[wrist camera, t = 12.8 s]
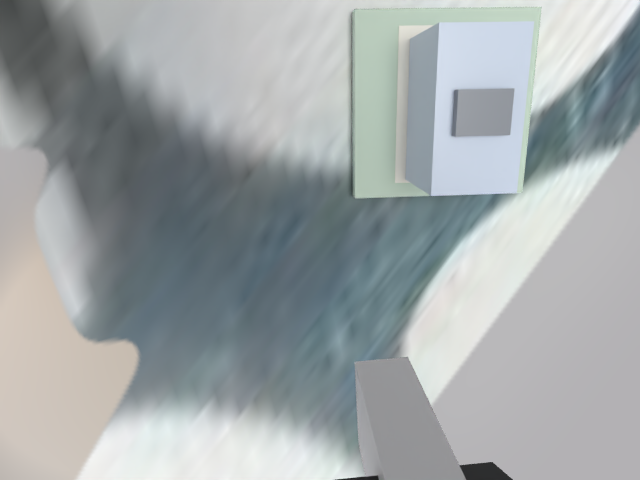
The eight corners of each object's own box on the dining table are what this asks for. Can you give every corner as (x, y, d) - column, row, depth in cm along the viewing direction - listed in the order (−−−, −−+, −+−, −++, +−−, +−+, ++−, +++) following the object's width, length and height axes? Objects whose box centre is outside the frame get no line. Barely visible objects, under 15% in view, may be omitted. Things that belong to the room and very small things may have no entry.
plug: (409, 38, 29) (442, 20, 23) (486, 37, 29) (540, 19, 23) (405, 179, 32) (434, 198, 25) (476, 177, 32) (522, 195, 26)
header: (352, 12, 30) (364, -6, 25) (532, 10, 30) (579, -9, 25) (352, 195, 33) (363, 211, 28) (514, 189, 34) (552, 204, 29)
